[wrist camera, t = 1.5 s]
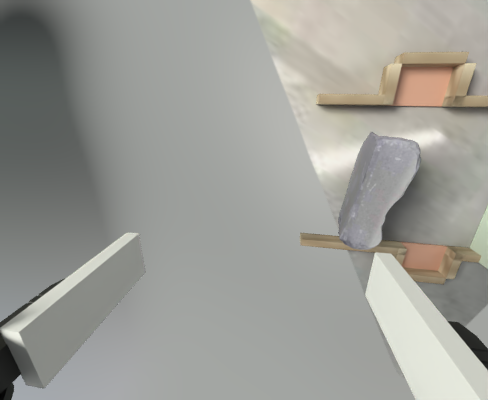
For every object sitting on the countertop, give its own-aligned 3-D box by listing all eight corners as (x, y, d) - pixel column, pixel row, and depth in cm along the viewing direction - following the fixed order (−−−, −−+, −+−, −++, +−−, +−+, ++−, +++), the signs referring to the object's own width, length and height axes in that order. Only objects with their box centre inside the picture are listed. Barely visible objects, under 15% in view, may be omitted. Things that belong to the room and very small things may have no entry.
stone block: (352, 128, 28) (387, 133, 19) (390, 137, 28) (445, 146, 19) (320, 212, 33) (336, 249, 23) (353, 220, 32) (383, 261, 23)
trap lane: (321, 58, 26) (327, 49, 23) (562, 55, 23) (608, 45, 20) (296, 260, 36) (298, 274, 33) (464, 278, 33) (484, 295, 30)
